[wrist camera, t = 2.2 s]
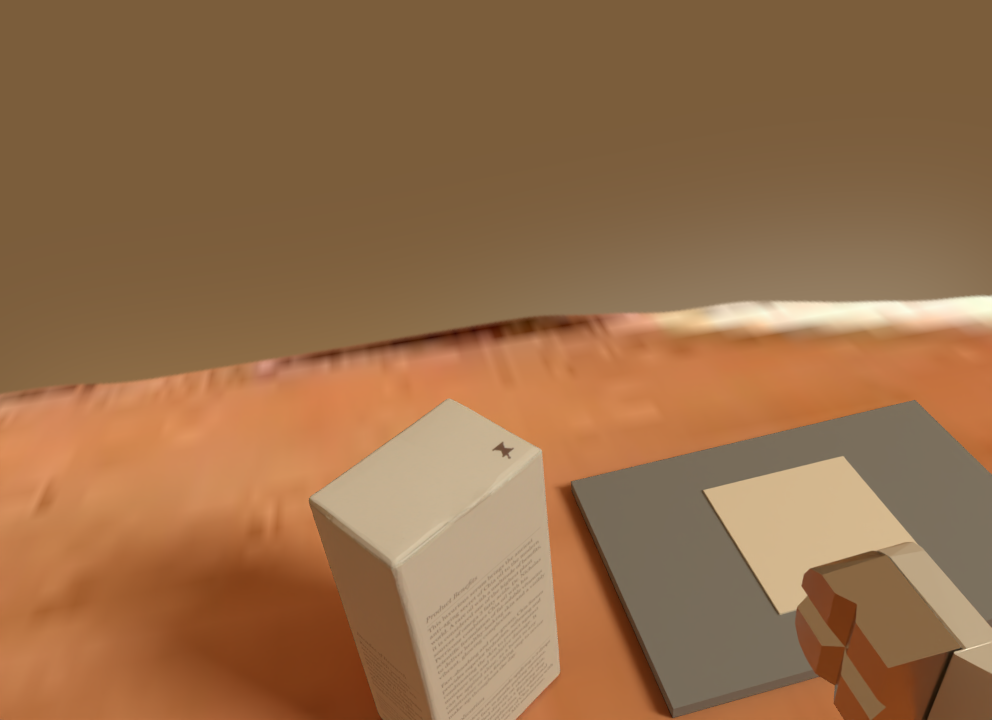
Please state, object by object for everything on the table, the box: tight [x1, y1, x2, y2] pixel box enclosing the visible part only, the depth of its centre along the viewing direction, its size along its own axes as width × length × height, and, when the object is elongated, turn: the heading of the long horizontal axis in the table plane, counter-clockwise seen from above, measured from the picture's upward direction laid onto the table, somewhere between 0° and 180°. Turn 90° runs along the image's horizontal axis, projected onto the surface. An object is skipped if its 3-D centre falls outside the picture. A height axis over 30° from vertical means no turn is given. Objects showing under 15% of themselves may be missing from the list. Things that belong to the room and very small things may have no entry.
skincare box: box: [309, 399, 560, 720], centre depth 29 cm, size 6×4×12 cm
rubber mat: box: [571, 400, 992, 718], centre depth 37 cm, size 18×12×1 cm, turn 104°
